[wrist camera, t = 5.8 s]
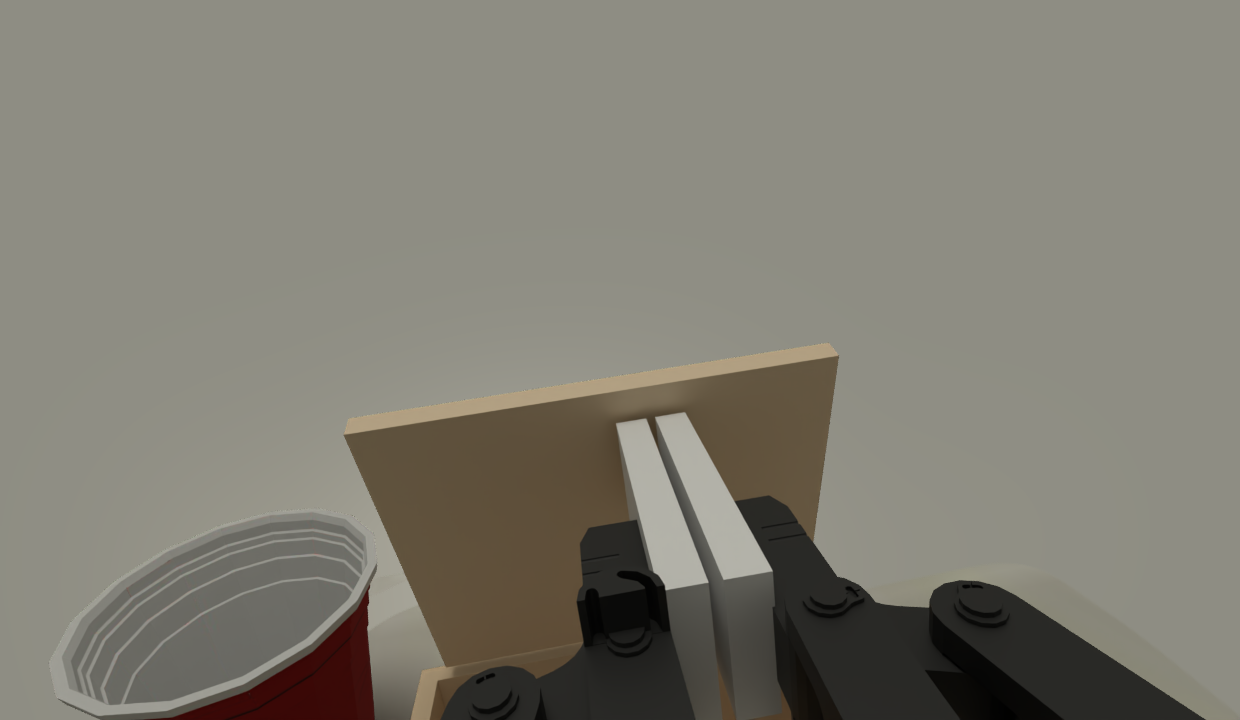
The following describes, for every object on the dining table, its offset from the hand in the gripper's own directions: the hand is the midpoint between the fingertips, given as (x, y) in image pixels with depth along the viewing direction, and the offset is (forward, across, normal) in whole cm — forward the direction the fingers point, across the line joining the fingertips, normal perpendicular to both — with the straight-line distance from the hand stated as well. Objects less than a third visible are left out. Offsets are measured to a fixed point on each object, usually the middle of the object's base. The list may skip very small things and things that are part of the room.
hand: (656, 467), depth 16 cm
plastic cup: (+8, -16, -18) cm, 25 cm away
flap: (+3, -1, -8) cm, 8 cm away
